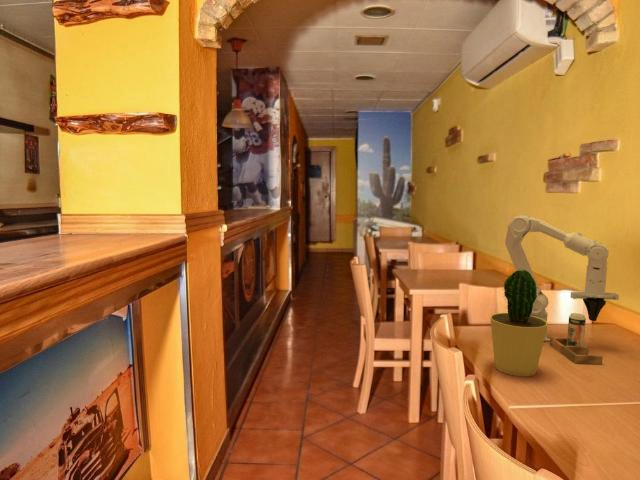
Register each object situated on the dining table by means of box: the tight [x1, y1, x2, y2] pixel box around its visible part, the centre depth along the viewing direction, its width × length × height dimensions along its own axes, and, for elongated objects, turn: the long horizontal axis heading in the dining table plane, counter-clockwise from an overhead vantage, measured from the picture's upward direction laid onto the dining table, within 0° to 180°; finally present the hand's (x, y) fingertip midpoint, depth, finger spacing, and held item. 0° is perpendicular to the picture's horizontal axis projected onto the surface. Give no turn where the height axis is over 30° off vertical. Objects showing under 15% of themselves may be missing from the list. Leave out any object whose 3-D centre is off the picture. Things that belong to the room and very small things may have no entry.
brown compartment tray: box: [549, 337, 604, 365], centre depth 149 cm, size 8×17×2 cm, turn 178°
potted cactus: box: [489, 269, 549, 377], centre depth 134 cm, size 15×15×30 cm
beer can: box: [567, 312, 587, 346], centre depth 152 cm, size 5×5×12 cm
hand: (592, 320), depth 155 cm, fingers closed
